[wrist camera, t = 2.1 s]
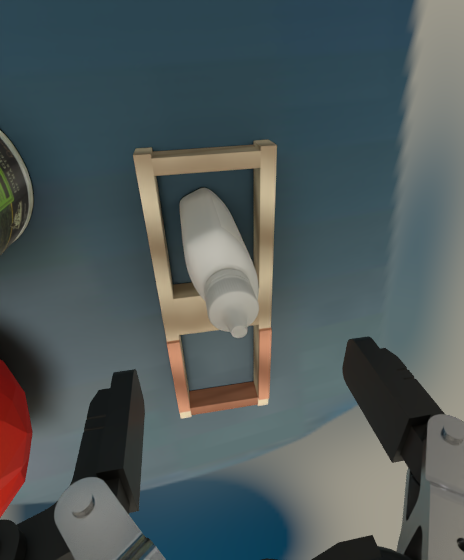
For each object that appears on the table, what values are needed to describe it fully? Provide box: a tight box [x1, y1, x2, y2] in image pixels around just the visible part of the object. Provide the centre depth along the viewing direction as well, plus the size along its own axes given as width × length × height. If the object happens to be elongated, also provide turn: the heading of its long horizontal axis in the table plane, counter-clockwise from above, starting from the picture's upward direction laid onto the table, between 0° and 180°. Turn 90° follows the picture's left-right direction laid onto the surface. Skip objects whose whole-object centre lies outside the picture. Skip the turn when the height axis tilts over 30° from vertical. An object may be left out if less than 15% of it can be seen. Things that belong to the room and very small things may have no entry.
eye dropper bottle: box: [179, 188, 259, 338], centre depth 20 cm, size 4×6×12 cm
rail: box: [133, 140, 277, 418], centre depth 27 cm, size 24×8×2 cm, turn 2°
